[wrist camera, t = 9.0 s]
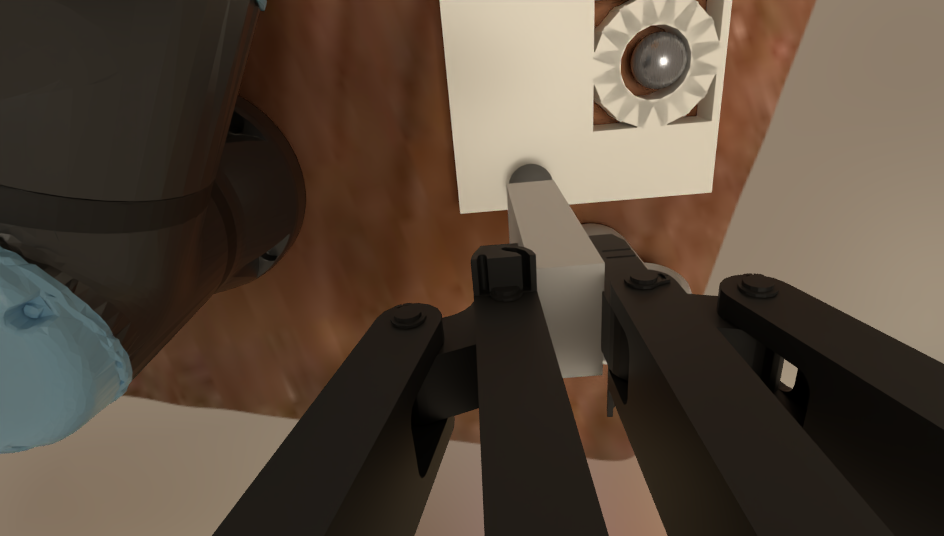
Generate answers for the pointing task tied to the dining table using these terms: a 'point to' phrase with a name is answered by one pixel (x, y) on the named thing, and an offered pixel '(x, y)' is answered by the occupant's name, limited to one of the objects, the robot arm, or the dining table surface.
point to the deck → (579, 98)
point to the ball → (659, 60)
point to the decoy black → (530, 174)
